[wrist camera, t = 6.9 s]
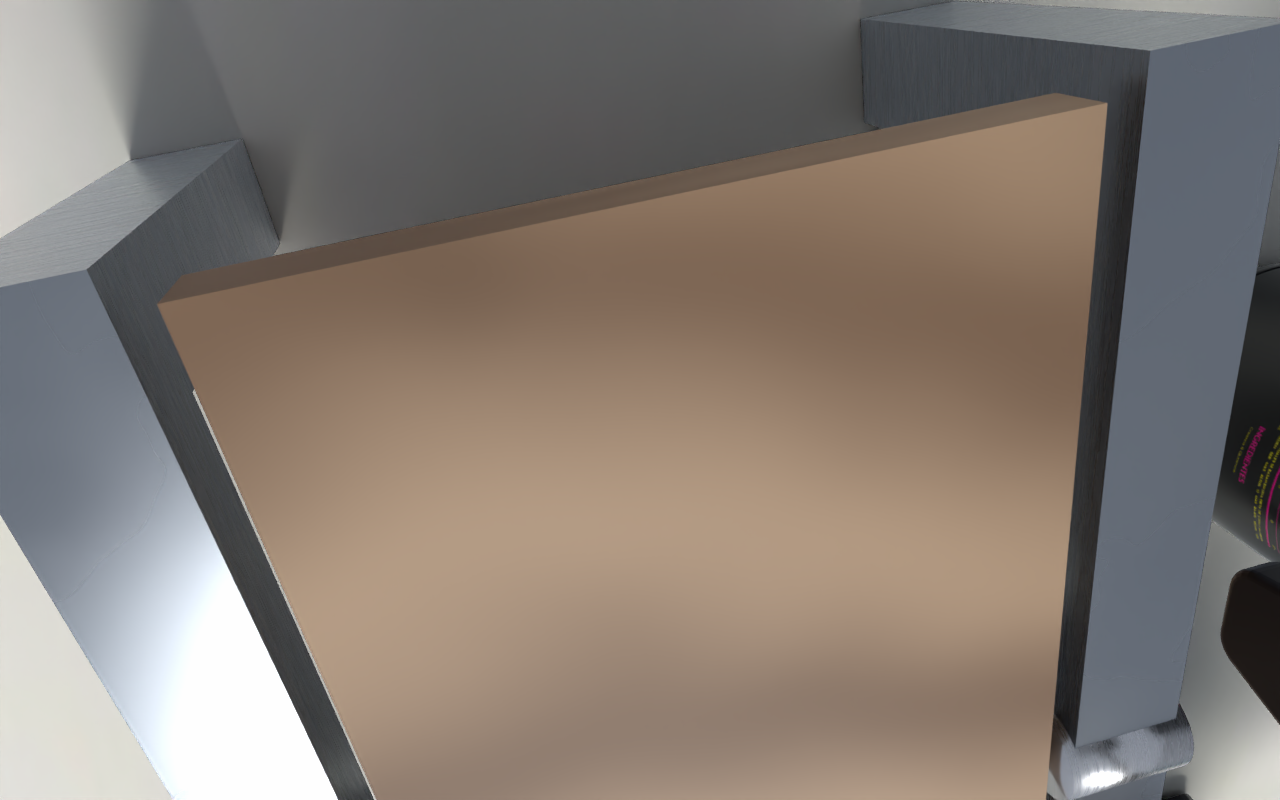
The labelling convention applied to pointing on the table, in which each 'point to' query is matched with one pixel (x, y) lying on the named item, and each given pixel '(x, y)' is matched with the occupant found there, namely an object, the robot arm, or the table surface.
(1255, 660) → the robot arm
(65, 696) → the table surface
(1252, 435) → the supplement container
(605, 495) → the trapdoor
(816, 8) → the table surface
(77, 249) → the trapdoor stand
